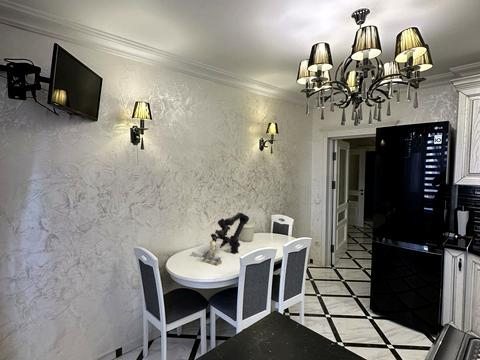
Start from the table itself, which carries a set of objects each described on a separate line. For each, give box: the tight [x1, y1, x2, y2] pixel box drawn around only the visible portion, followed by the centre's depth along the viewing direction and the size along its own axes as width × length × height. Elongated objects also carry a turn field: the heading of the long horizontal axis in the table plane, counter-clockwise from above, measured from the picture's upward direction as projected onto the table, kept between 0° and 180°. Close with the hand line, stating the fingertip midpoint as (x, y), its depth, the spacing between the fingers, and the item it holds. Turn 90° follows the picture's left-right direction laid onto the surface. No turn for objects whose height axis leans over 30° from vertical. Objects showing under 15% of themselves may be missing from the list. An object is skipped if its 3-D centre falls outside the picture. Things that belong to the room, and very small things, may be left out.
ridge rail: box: [202, 253, 223, 267], centre depth 221 cm, size 16×6×5 cm, turn 55°
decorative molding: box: [190, 241, 217, 258], centre depth 250 cm, size 34×5×10 cm
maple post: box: [209, 240, 216, 257], centre depth 220 cm, size 4×4×13 cm
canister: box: [239, 221, 256, 243], centre depth 287 cm, size 18×18×21 cm
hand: (216, 246), depth 224 cm, fingers open, 9 cm apart
